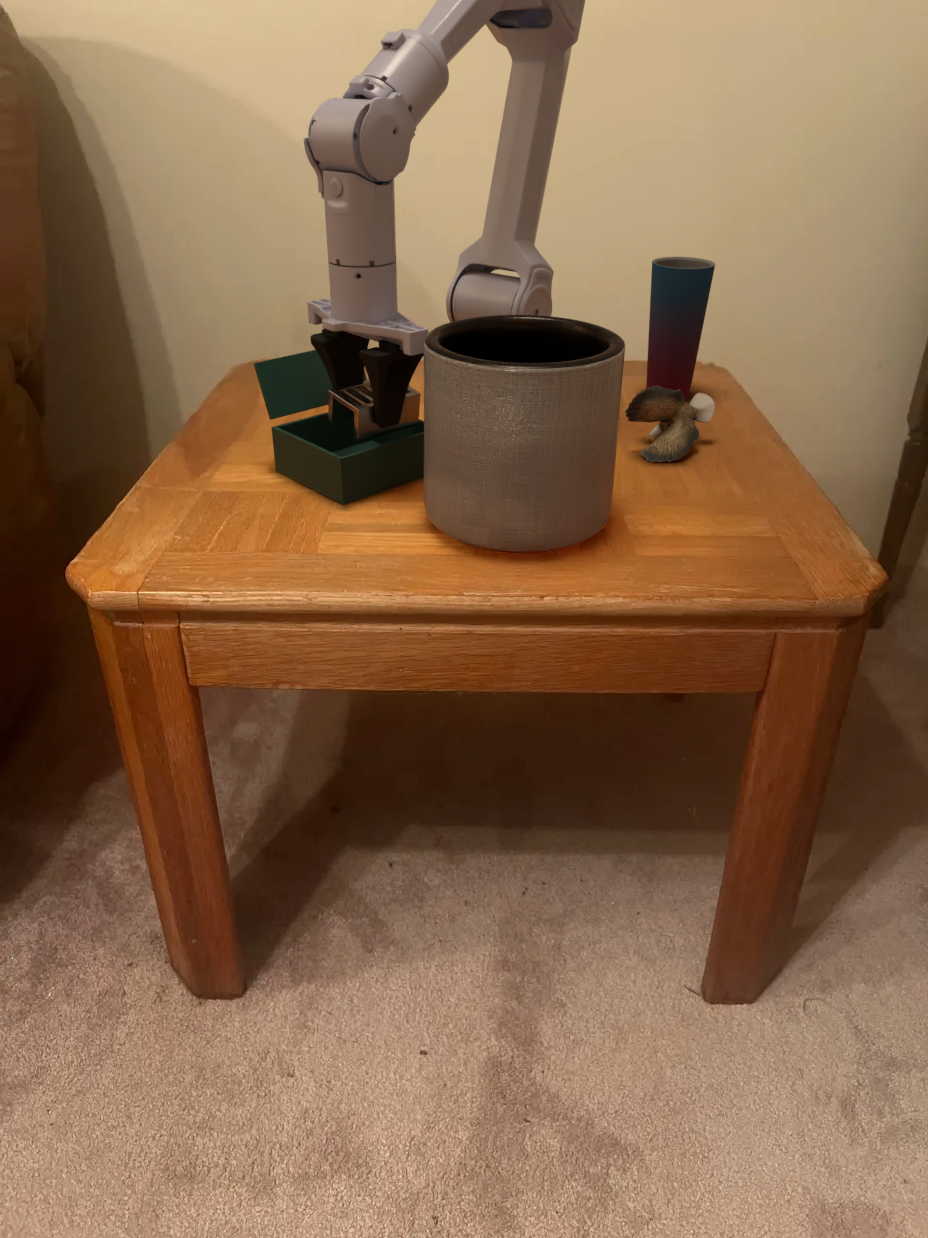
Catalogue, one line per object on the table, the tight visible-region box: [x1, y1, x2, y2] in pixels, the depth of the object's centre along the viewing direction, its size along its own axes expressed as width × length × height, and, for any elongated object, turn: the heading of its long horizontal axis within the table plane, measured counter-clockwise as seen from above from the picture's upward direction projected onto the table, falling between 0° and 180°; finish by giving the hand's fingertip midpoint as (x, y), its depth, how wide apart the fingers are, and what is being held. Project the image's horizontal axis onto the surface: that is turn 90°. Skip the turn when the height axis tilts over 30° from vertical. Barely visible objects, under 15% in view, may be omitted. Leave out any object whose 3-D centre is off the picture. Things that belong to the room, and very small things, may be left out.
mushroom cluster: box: [624, 386, 716, 463], centre depth 96 cm, size 8×7×9 cm
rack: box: [327, 379, 422, 442], centre depth 86 cm, size 7×5×3 cm, turn 131°
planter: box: [423, 315, 626, 555], centre depth 78 cm, size 16×16×16 cm
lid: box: [253, 349, 368, 421], centre depth 91 cm, size 5×12×1 cm
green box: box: [271, 411, 424, 506], centre depth 90 cm, size 11×12×4 cm
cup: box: [645, 256, 716, 401], centre depth 108 cm, size 7×7×15 cm
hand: (369, 417), depth 86 cm, fingers closed on rack, 5 cm apart
